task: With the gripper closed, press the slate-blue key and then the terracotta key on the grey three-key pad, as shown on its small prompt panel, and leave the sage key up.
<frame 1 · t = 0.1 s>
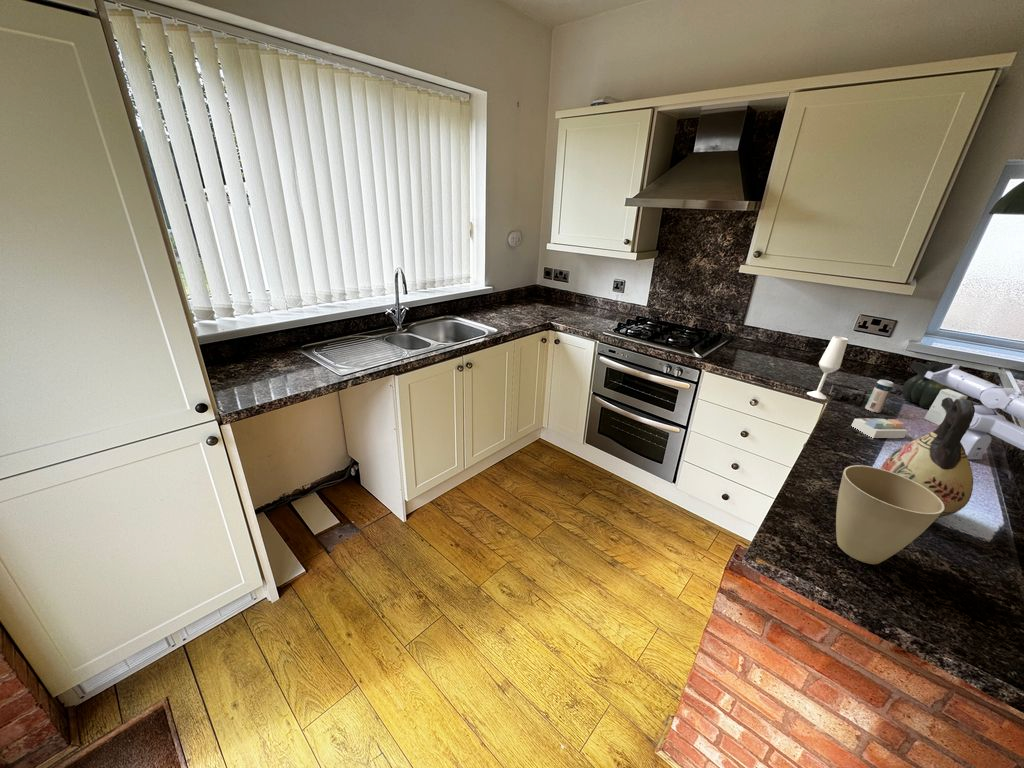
hand: (921, 364, 139), 22 cm above the worktop, tool horizontal, fingers open, 7 cm apart
plant pot: (856, 550, 85), on the worktop
squash: (920, 404, 165), on the worktop
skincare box: (936, 423, 150), on the worktop
beige capped bottle: (872, 411, 155), on the worktop
ceramic jug: (906, 511, 99), on the worktop
slate blue key: (874, 424, 135), point 3 cm above the worktop, slide at 0.0 cm
sage key: (884, 424, 135), point 3 cm above the worktop, slide at 0.0 cm
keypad: (876, 432, 138), on the worktop
champagne flute: (816, 395, 164), on the worktop
terracotta key: (894, 424, 136), point 3 cm above the worktop, slide at 0.0 cm
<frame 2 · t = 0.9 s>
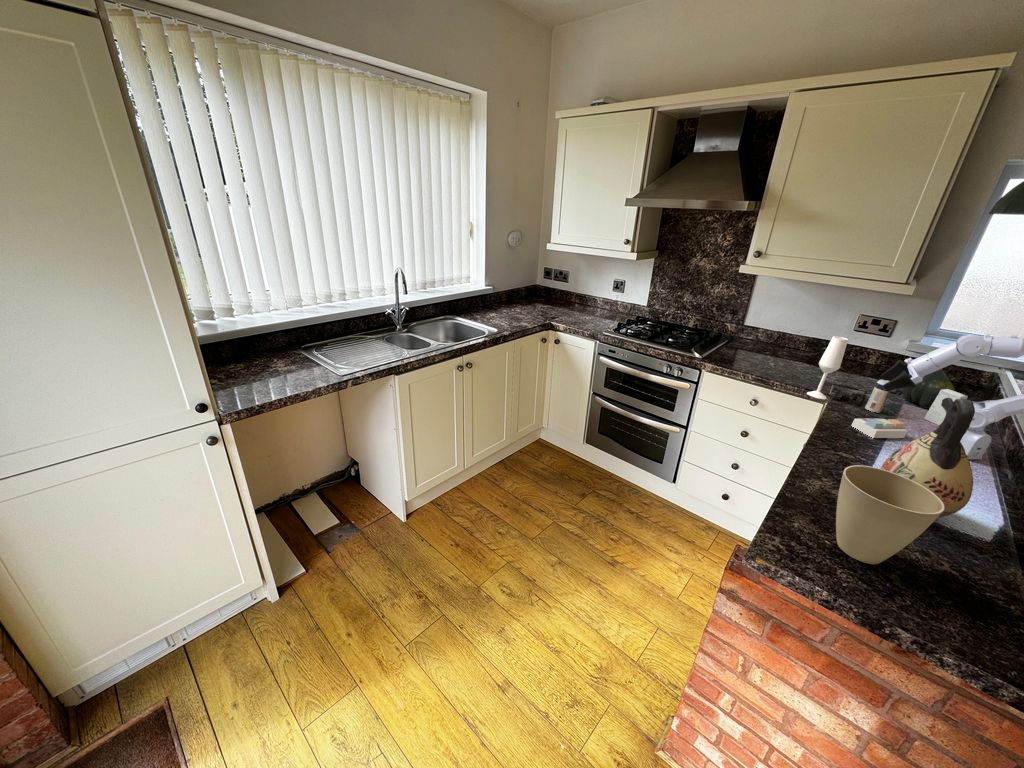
hand: (883, 383, 138), 15 cm above the worktop, tool tilted 40°, fingers open, 7 cm apart
nothing on the worktop moved.
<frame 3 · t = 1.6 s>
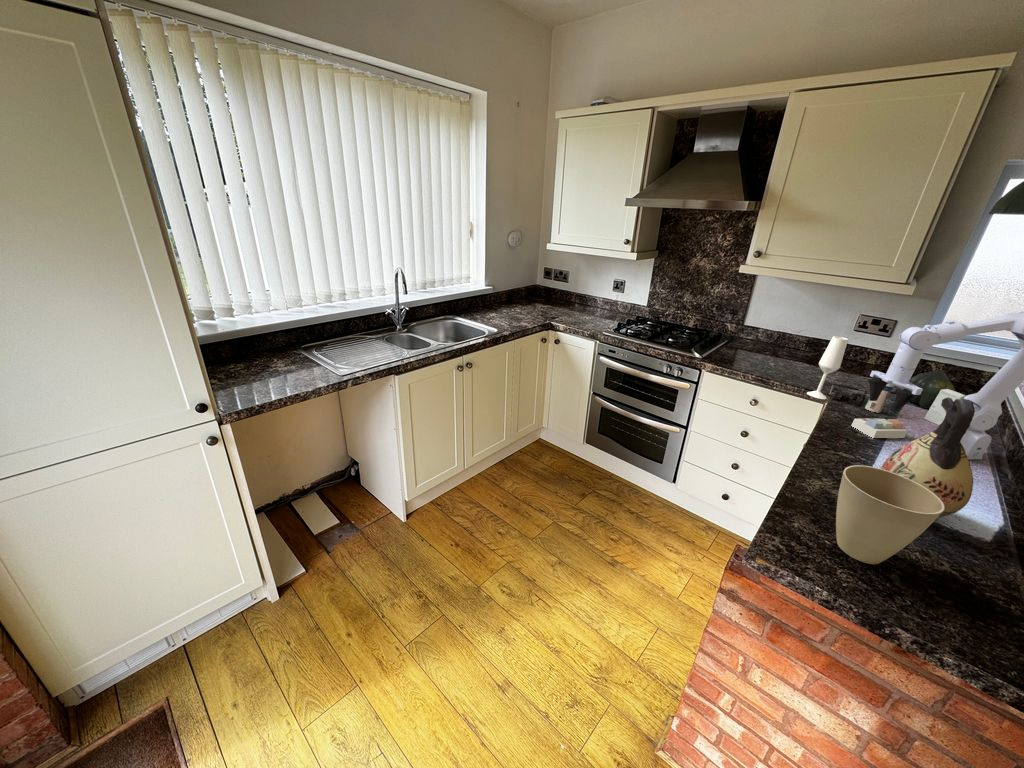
hand: (883, 405, 132), 10 cm above the worktop, tool pointing down, fingers open, 7 cm apart
nothing on the worktop moved.
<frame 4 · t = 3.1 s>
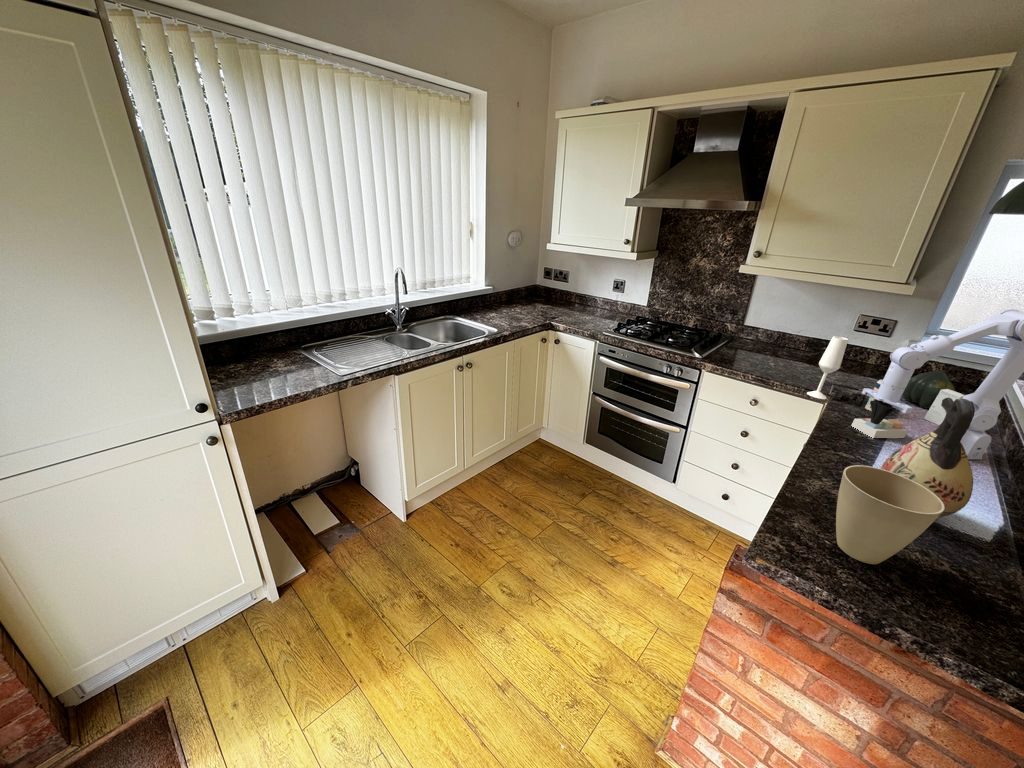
hand: (874, 423, 134), 4 cm above the worktop, tool pointing down, fingers closed, pressing on slate blue key
slate blue key: (873, 426, 135), point 3 cm above the worktop, slide at 0.6 cm, touching gripper
everything else where it was.
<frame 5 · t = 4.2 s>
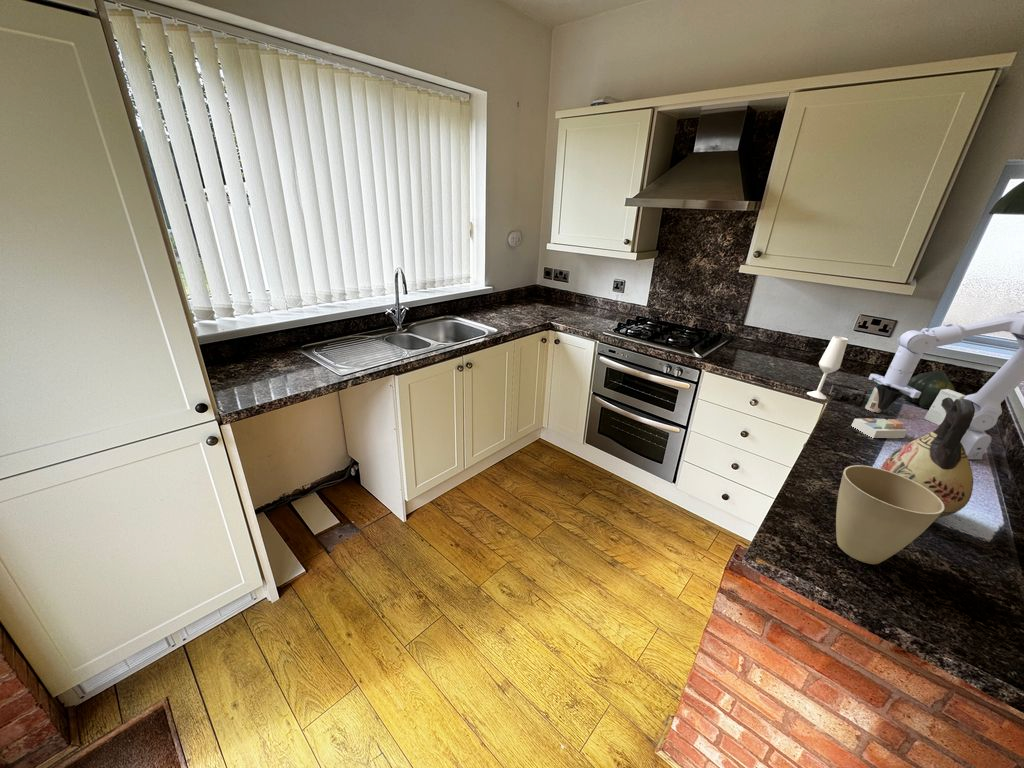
hand: (881, 408, 132), 9 cm above the worktop, tool pointing down, fingers closed
slate blue key: (872, 427, 135), point 2 cm above the worktop, slide at 1.3 cm
everything else where it was.
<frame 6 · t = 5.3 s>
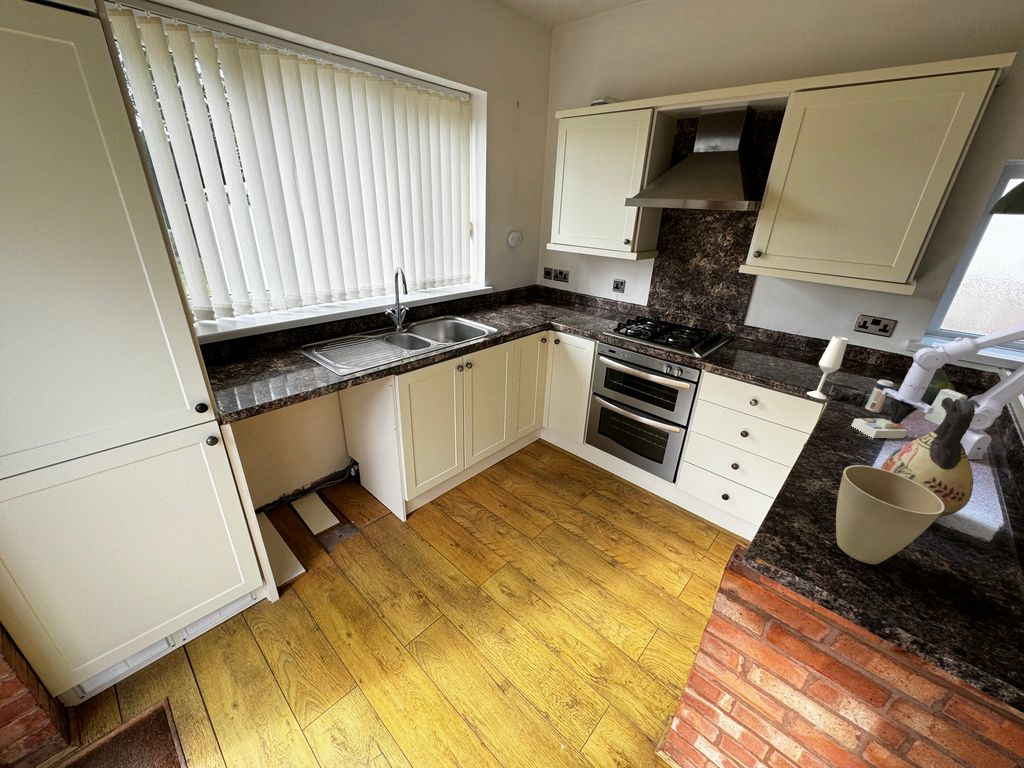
hand: (895, 422, 136), 4 cm above the worktop, tool pointing down, fingers closed, pressing on terracotta key
terracotta key: (893, 425, 136), point 3 cm above the worktop, slide at 0.4 cm, touching gripper
everything else where it was.
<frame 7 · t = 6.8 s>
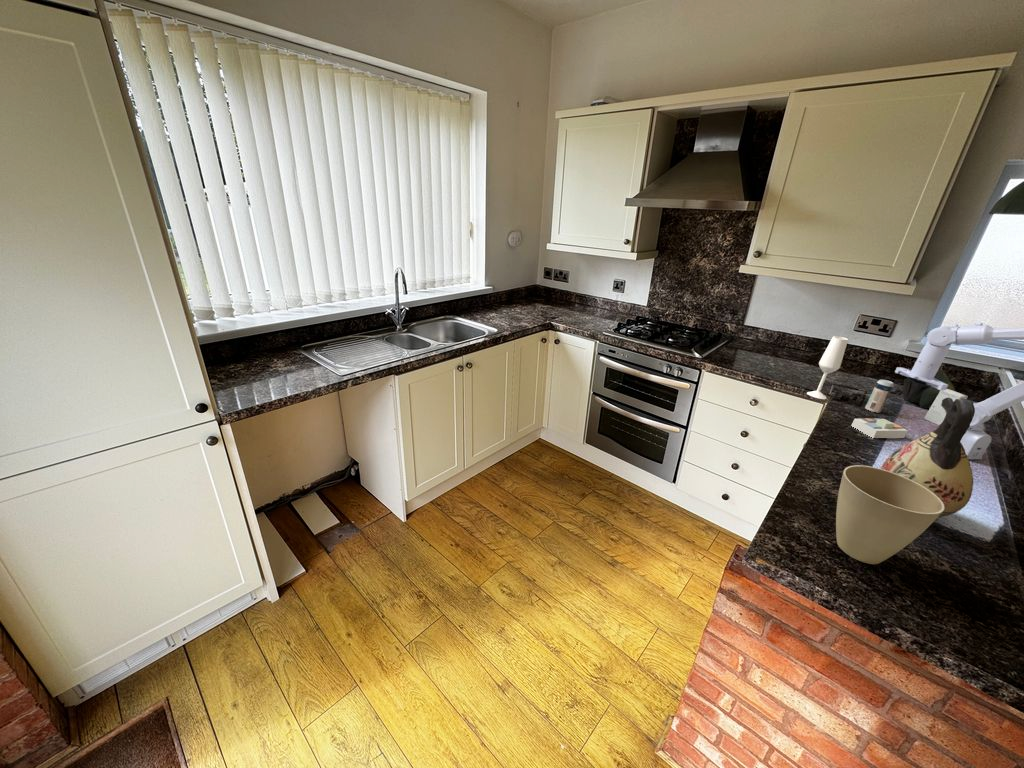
hand: (908, 400, 138), 10 cm above the worktop, tool pointing down, fingers closed
terracotta key: (892, 428, 136), point 2 cm above the worktop, slide at 1.3 cm
everything else where it was.
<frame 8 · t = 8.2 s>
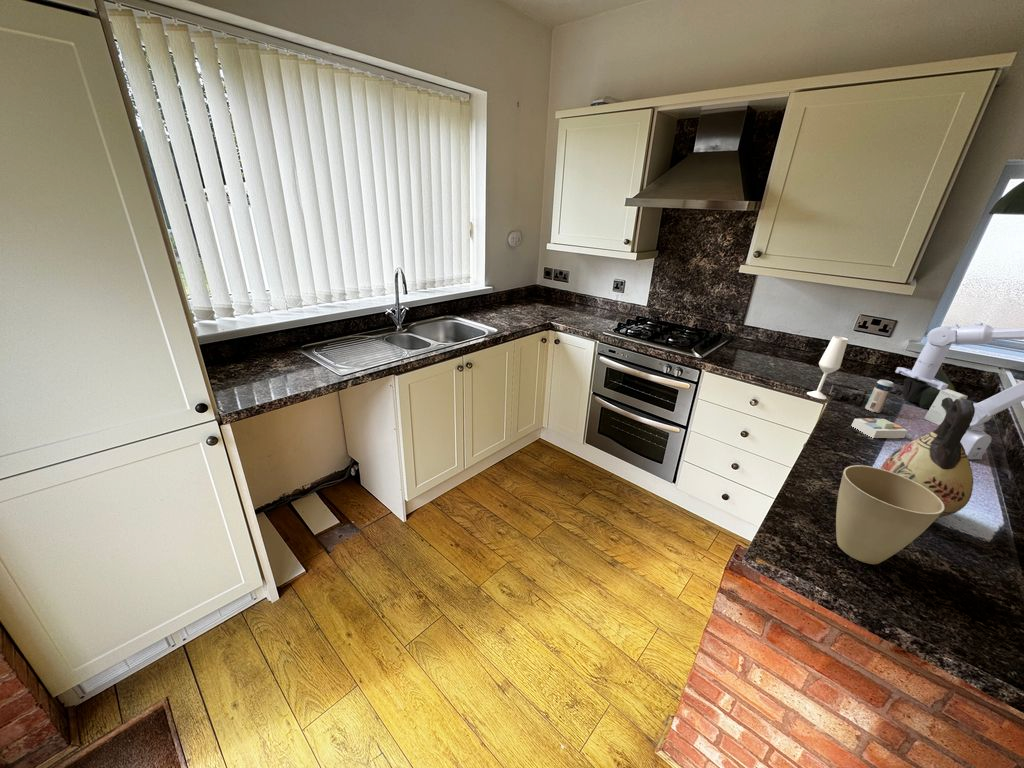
hand: (908, 400, 138), 10 cm above the worktop, tool pointing down, fingers closed
nothing on the worktop moved.
at the end: slate blue key slide at 1.3 cm; terracotta key slide at 1.3 cm; sage key slide at 0.0 cm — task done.
